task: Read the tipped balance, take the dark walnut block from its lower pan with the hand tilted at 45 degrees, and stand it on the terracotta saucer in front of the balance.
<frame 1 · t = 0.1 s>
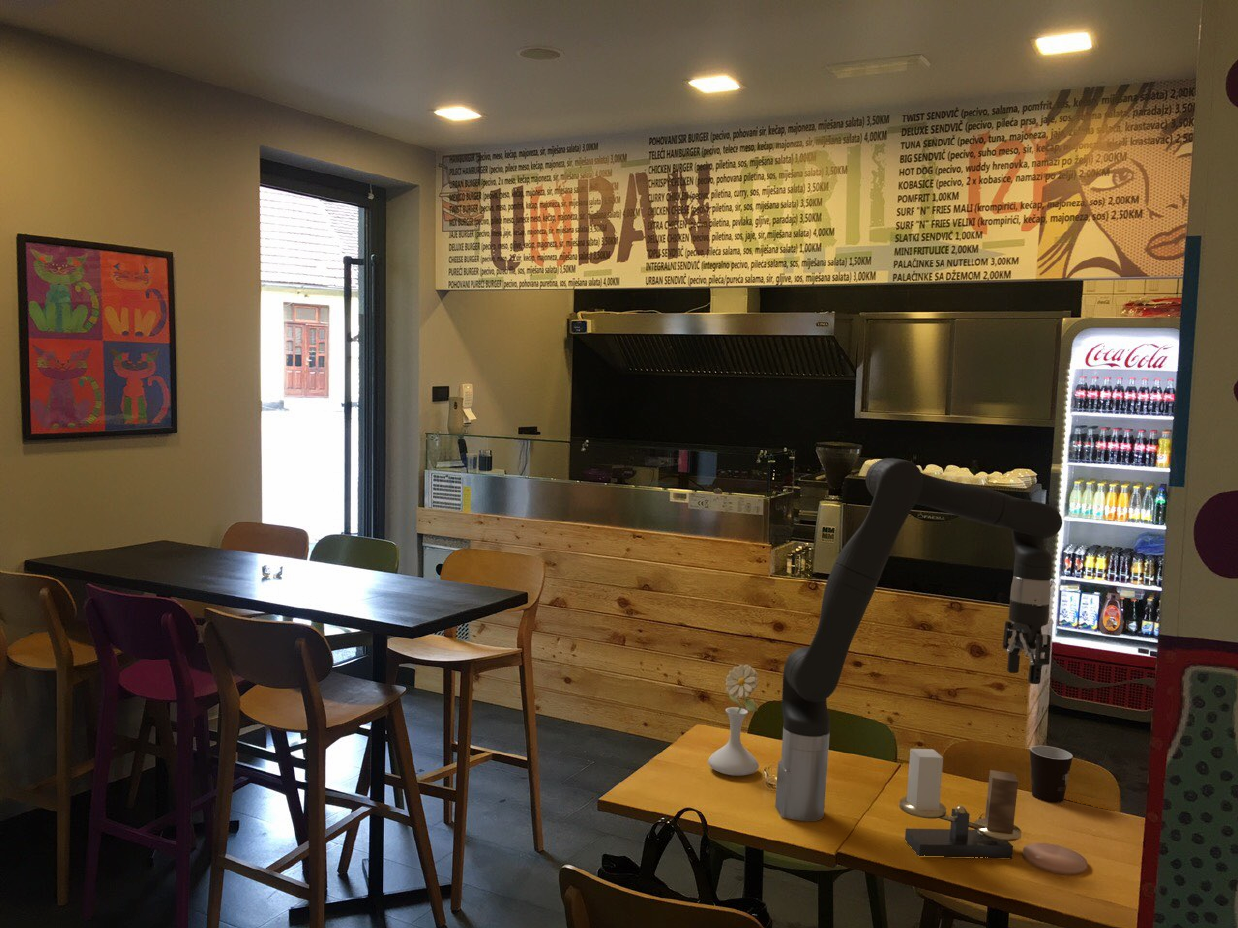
hand: (1023, 677, 206), 29 cm above the table, tool pointing down, fingers open, 8 cm apart
walnut block: (998, 827, 190), point 5 cm above the table, touching balance
pale block: (922, 805, 188), point 8 cm above the table, touching balance
coffee mug: (1052, 796, 221), on the table
saucer: (1054, 860, 187), on the table
flower in vase: (734, 773, 224), on the table
balance: (957, 849, 190), on the table
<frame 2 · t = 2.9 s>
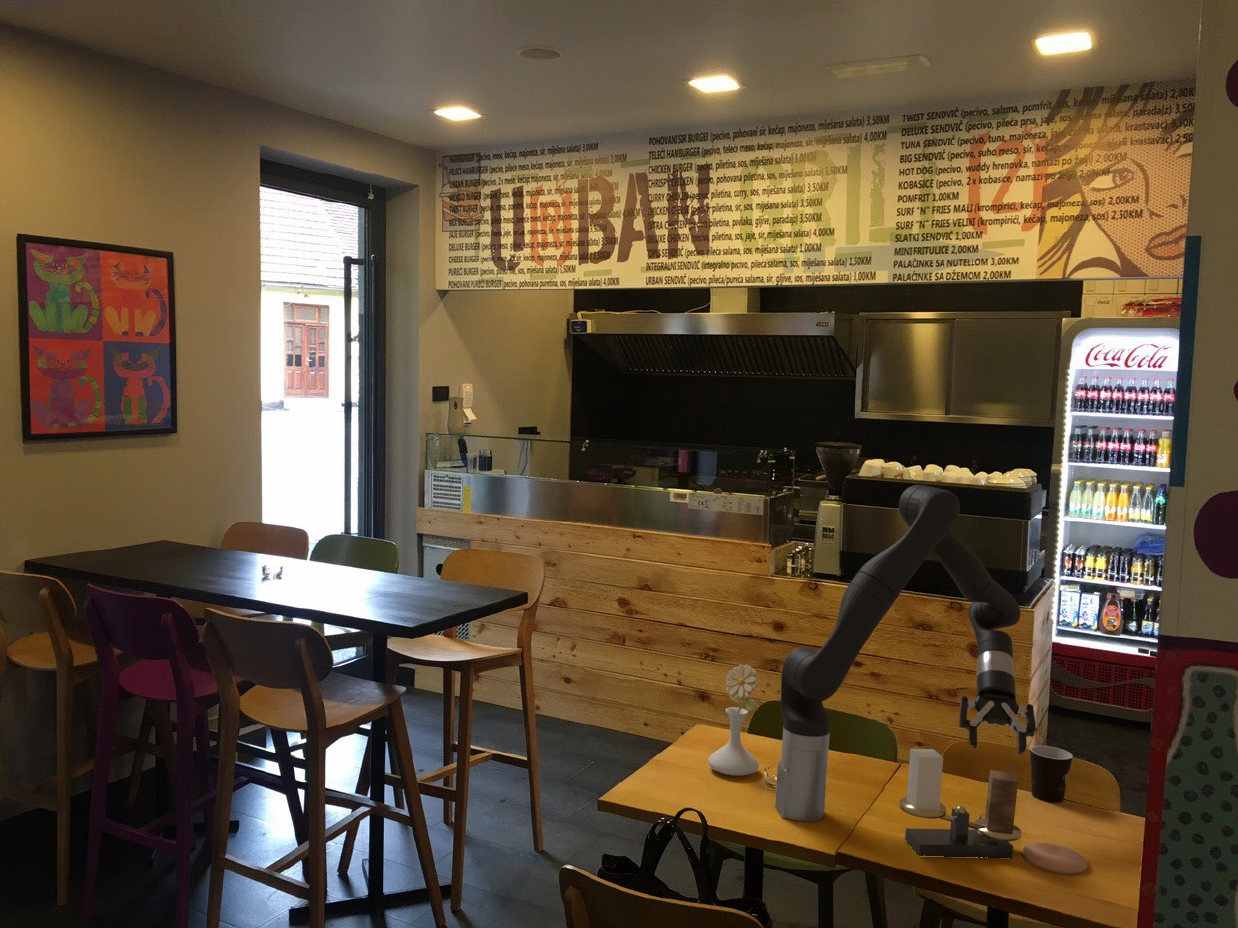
hand: (997, 749, 198), 17 cm above the table, tool tilted 45°, fingers open, 8 cm apart
nothing on the table moved.
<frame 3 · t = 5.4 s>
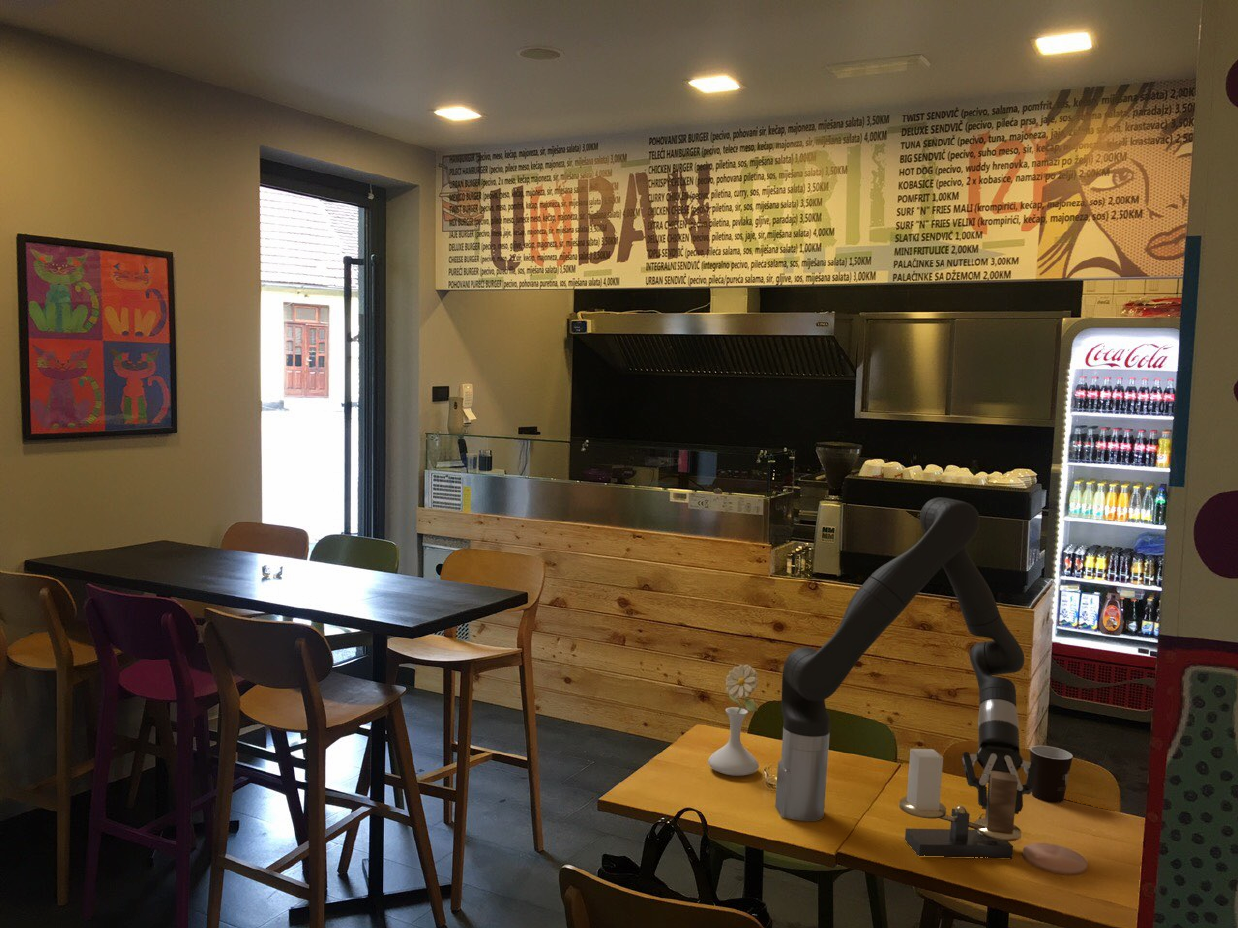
hand: (1000, 809, 188), 9 cm above the table, tool tilted 45°, fingers open, 5 cm apart
walnut block: (998, 827, 190), point 5 cm above the table, touching balance, gripper
everything else where it was.
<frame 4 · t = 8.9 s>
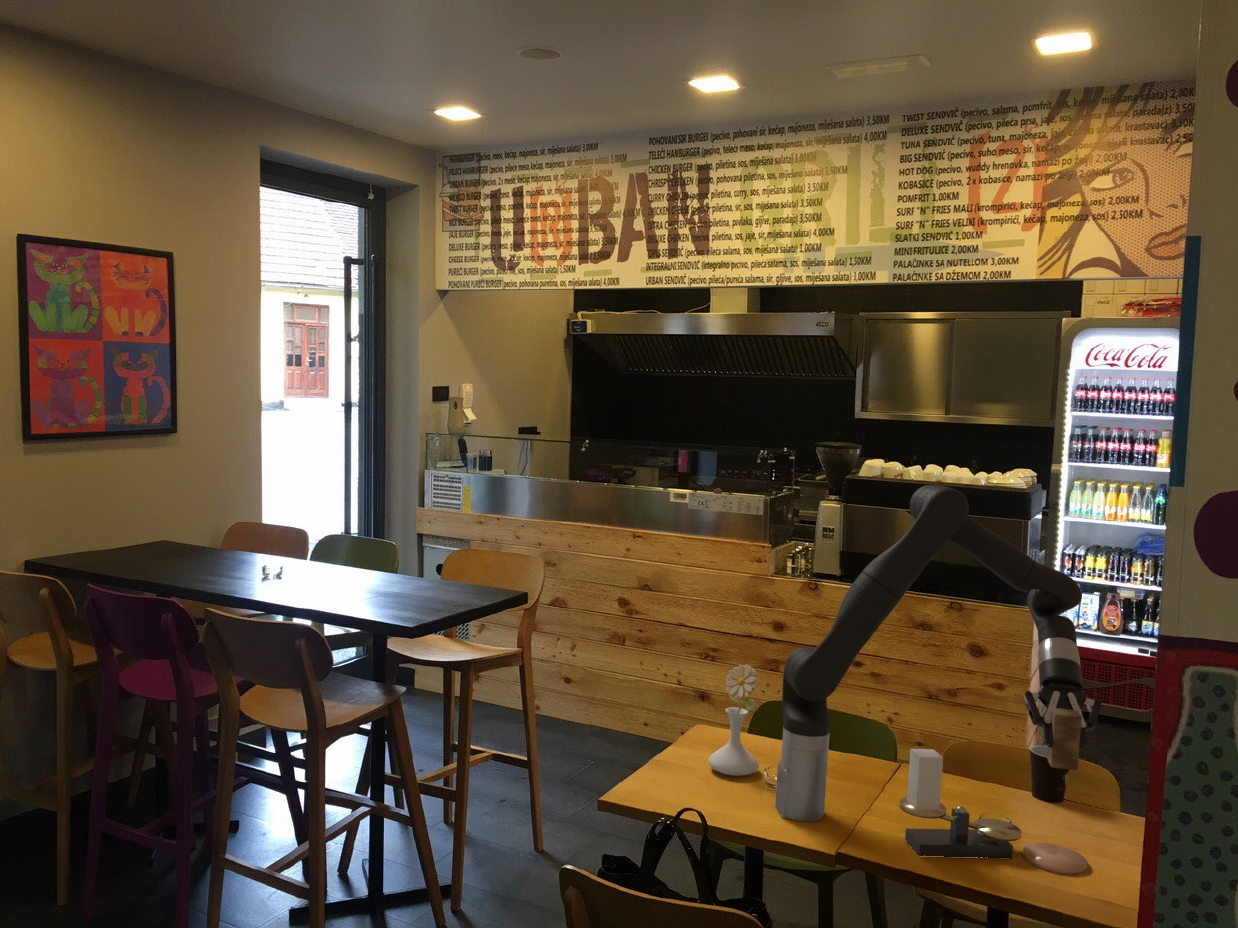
hand: (1065, 746, 184), 22 cm above the table, tool tilted 45°, fingers closed on walnut block, 4 cm apart
walnut block: (1062, 764, 186), point 18 cm above the table, touching gripper
everything else where it was.
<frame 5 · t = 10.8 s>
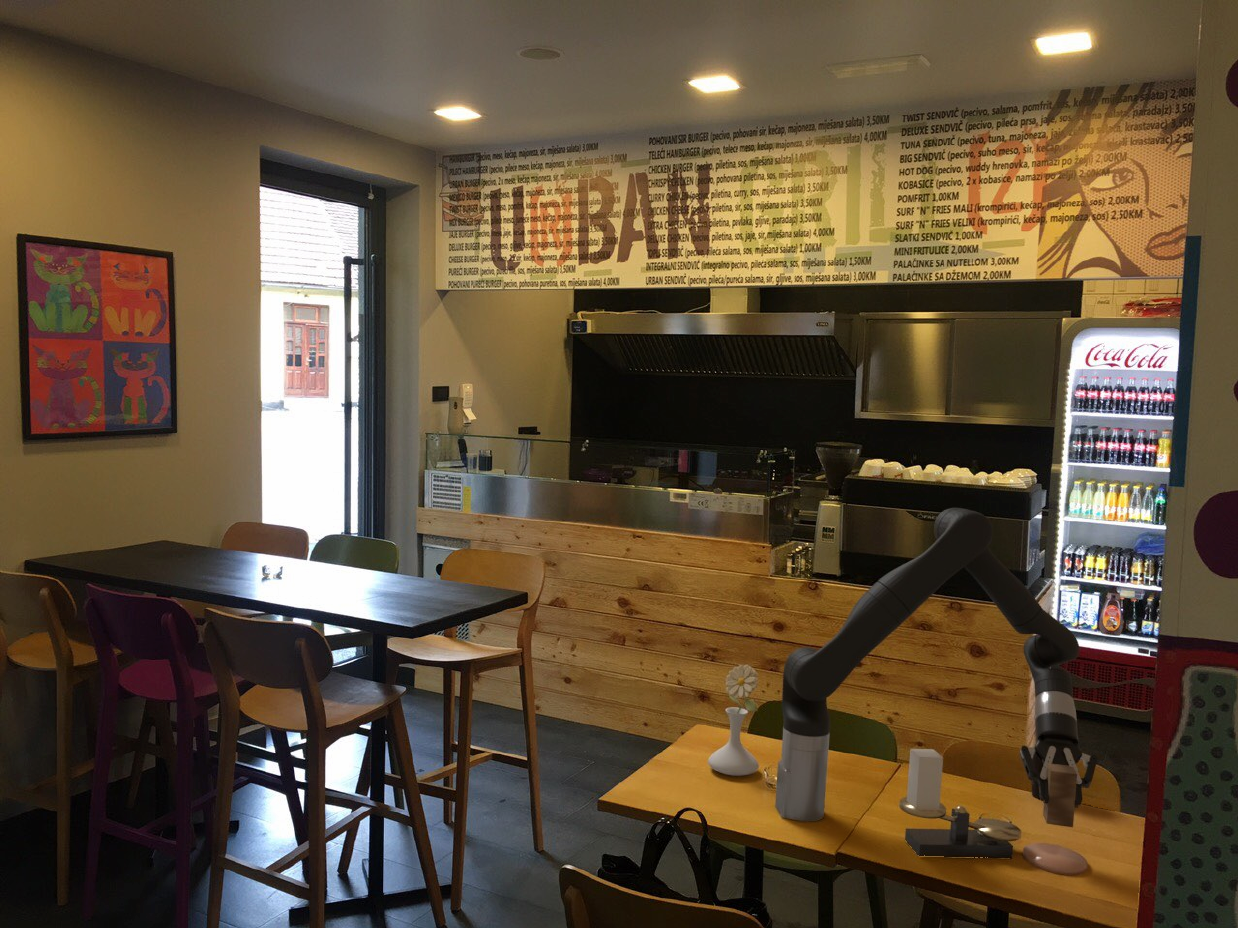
hand: (1061, 803, 185), 12 cm above the table, tool tilted 45°, fingers closed on walnut block, 4 cm apart
walnut block: (1057, 820, 187), point 8 cm above the table, touching gripper
everything else where it was.
when the fingers open (6 cm above the table, at t = 12.3 s): walnut block drops 1 cm, resting on saucer.
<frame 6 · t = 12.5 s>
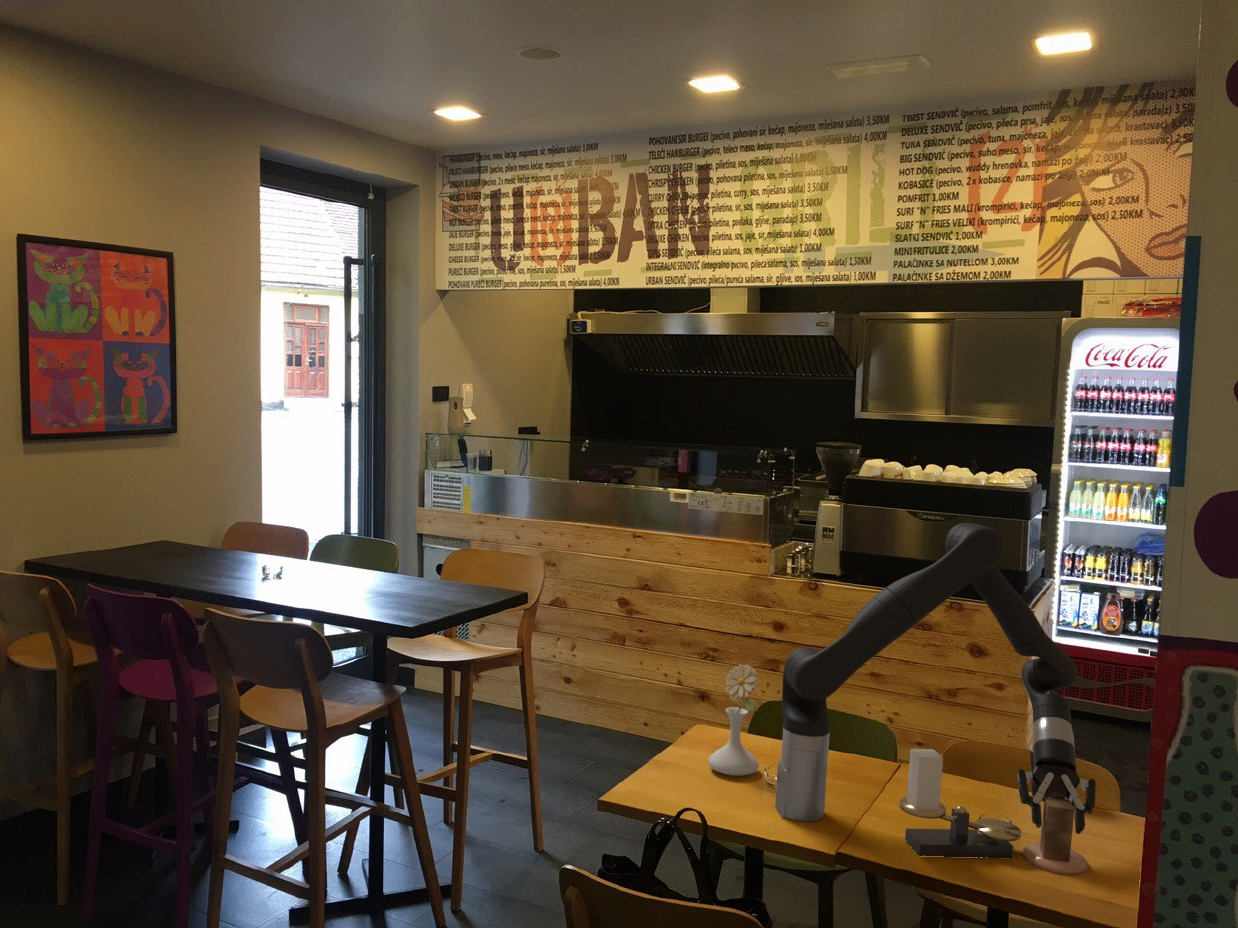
hand: (1058, 828, 185), 7 cm above the table, tool tilted 45°, fingers open, 6 cm apart
walnut block: (1054, 854, 187), point 1 cm above the table, touching saucer
everything else where it was.
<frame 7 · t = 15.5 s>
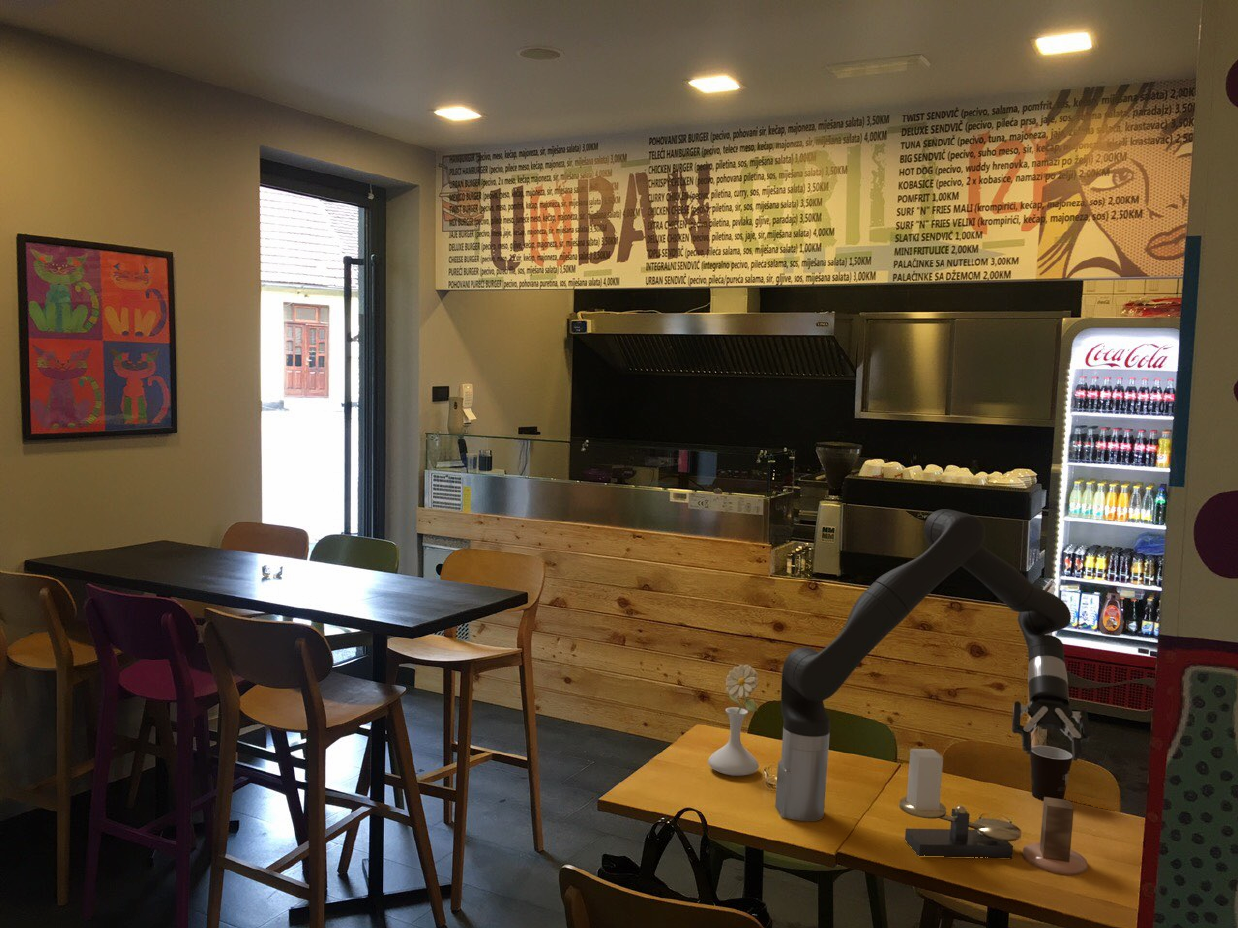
hand: (1052, 755, 197), 17 cm above the table, tool tilted 45°, fingers open, 8 cm apart
nothing on the table moved.
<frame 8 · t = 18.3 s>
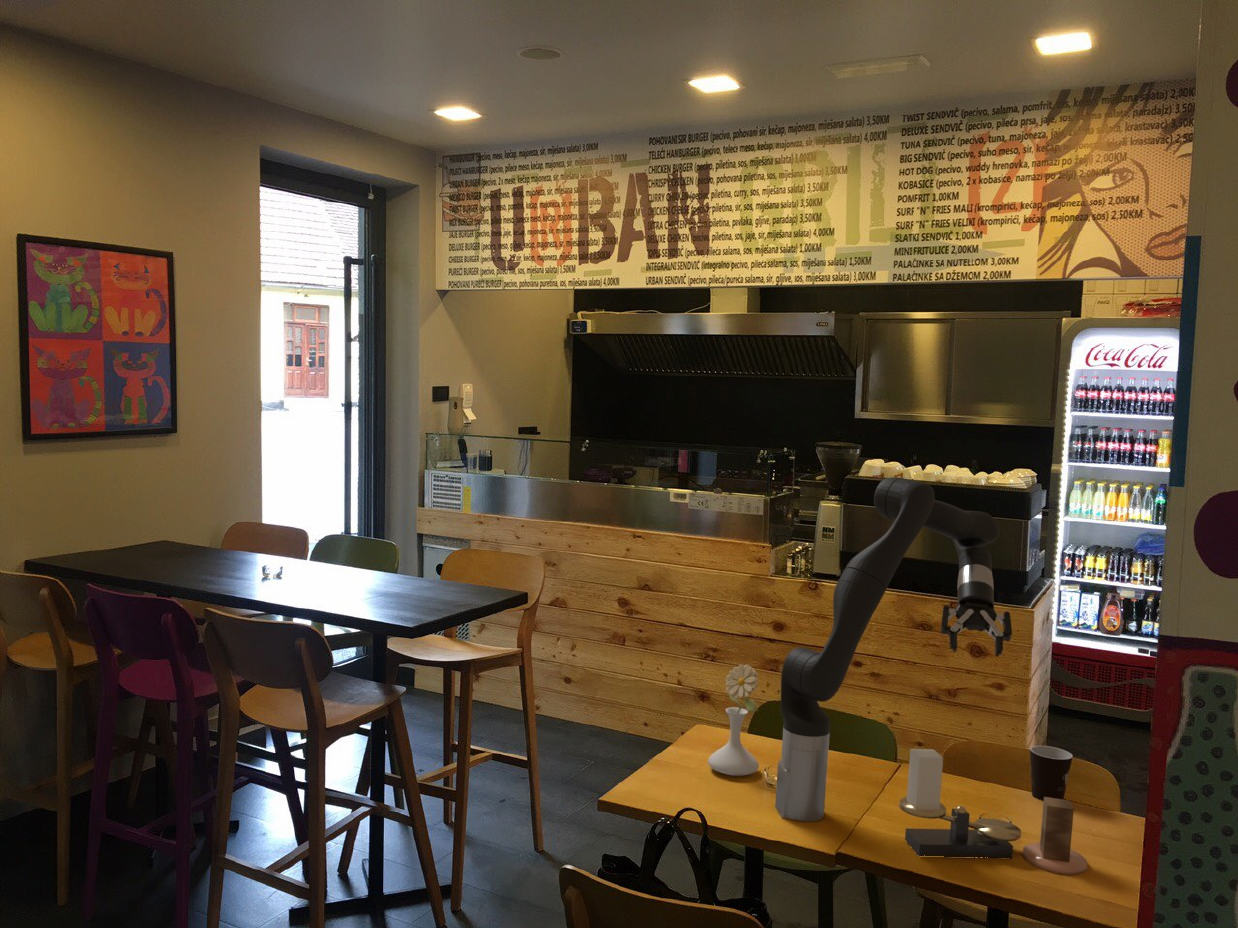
hand: (976, 652, 211), 33 cm above the table, tool tilted 45°, fingers open, 8 cm apart
nothing on the table moved.
at the end: walnut block 0.2 cm off-centre on the saucer, point 1.0 cm above the saucer's base; walnut block tilted 0°; pale block moved 0.0 cm from its start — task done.
